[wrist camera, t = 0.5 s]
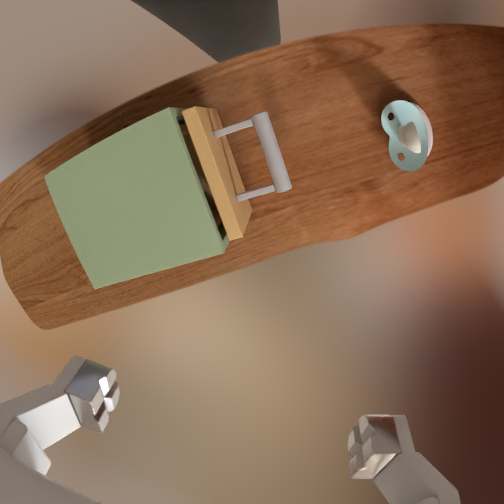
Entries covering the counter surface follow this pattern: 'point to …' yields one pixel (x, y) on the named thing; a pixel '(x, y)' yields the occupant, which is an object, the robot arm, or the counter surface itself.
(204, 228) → the cabinet
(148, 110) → the counter surface
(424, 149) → the pacifier
